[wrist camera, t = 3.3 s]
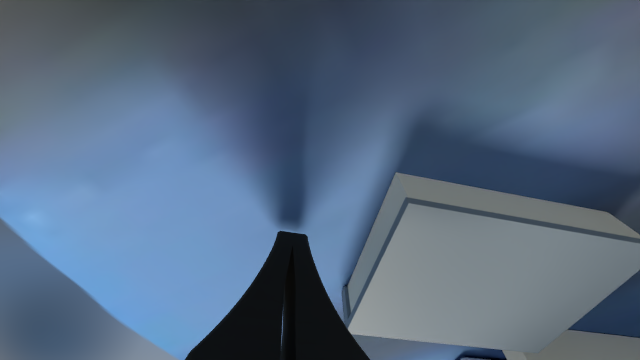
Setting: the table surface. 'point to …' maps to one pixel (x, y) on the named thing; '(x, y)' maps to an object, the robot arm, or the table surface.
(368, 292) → the book
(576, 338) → the cream corner tray
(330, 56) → the table surface
